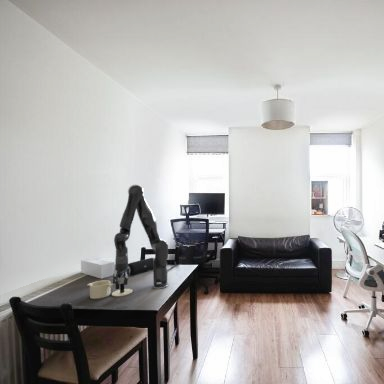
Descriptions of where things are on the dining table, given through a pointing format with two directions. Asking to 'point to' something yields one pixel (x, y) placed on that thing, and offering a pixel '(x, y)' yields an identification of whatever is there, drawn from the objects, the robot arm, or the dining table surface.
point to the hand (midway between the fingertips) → (121, 286)
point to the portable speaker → (140, 266)
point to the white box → (97, 267)
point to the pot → (100, 289)
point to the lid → (122, 291)
